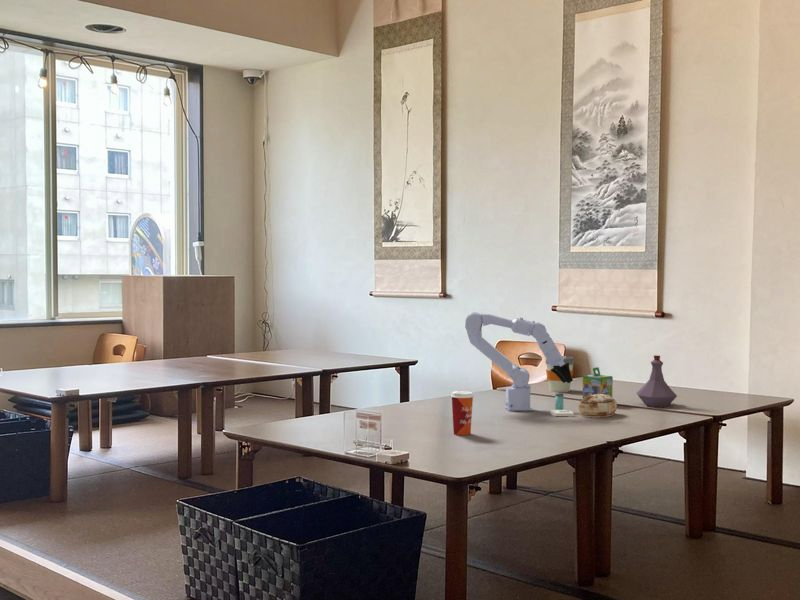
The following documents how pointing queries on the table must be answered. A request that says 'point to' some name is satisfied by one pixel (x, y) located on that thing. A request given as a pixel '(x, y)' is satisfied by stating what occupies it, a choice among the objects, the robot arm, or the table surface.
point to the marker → (559, 401)
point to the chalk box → (597, 384)
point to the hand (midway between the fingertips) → (568, 381)
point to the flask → (656, 387)
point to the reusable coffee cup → (554, 380)
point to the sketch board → (562, 412)
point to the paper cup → (462, 412)
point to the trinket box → (597, 406)
